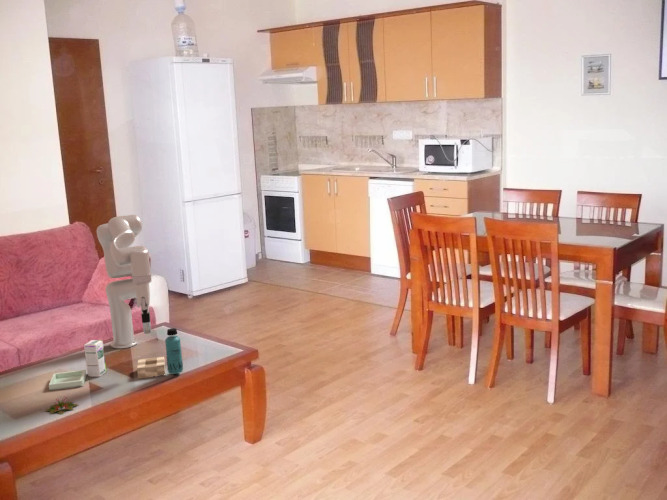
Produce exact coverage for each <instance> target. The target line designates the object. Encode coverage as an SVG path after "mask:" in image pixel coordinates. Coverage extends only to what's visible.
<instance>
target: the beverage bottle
mask: <svg viewBox="0 0 667 500" xmlns="http://www.w3.org/2000/svg"><path fill="white" fill-rule="evenodd" d="M177 334H178V330H177V328H168V329H167V333H166V335H167V337H166V338H165V340H164V341H165V350H166V351H165V353H166V354H165V355H166V366H167V367H166V368H167V372H168V373H169V374H173V375H175V374H179V373H182V372H183V370H184V365H183V364H184V362H183V356H182V355H183V354H182V346H181V345H182V344H181V338H180V336H178V335H177Z"/></svg>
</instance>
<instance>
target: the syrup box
mask: <svg viewBox="0 0 667 500" xmlns="http://www.w3.org/2000/svg"><path fill="white" fill-rule="evenodd" d="M83 347H84V355H85V362H86V371H87V375H88V377H94V378H95V377H98V378H99V377H102V376H103V375H104V374H105V373H107V371H108V370H107V363H106V356H105V349H104V342H103V340H101V339H94V340H93V339H91V340H90V341H88V342H87V343H85V344H84V345H83Z"/></svg>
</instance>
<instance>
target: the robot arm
mask: <svg viewBox="0 0 667 500" xmlns="http://www.w3.org/2000/svg"><path fill="white" fill-rule="evenodd" d="M109 219H110V220H108V223H103V224H100V225H98V226H97V228H96V236H97V240H98V242H99V244H100V246H101V247H102V250H103V257H104V263H105V271H106V274H107V275H106V276H108V278H110V279H119V280H114V281H111V282H108V283H107V284H106V286H105V293H106V297H107V301H108V305H109V312H110V320H111V321H110V322H111V328H112V337H113V341H112V342H111V343H110V347H111V348H113V349H119V350H120V349H127V348H131V347H134V346H137V344H138V343H139V341H138V339H137V338H135V333H134V326H133V317H132V309H131V306H130V305H129V304H128V303H127V302H126V301H127V300H130V299H136V305H137V308H140V310H141V311H142V312H141V321H142V324H143V323H147V322H150V323H151V313H150V312H151V311H150V309H149V312H148V306H149V307H150V302H151V295H150V294H151V293H150V292H151V290H150V283H151V282H152V272H151V264H150V263H151V262H150V253H149V251H148V248H146V247H145V246H143V245H135V246H131V245H133V243H134V242H135V239H136V237H137V236H138V235H140V233H141V231H142V228H143V223H142V220H141V219H140V217H139V216H138V215H136V214H129V215H127V214H126V215H120V216H119V215H118V216H115V217H112V218H109ZM126 277H131V278H126ZM121 278H126V279H121ZM120 279H121V280H120ZM146 303H147V304H146ZM146 305H147V306H146ZM149 313H150V315H149Z"/></svg>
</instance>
